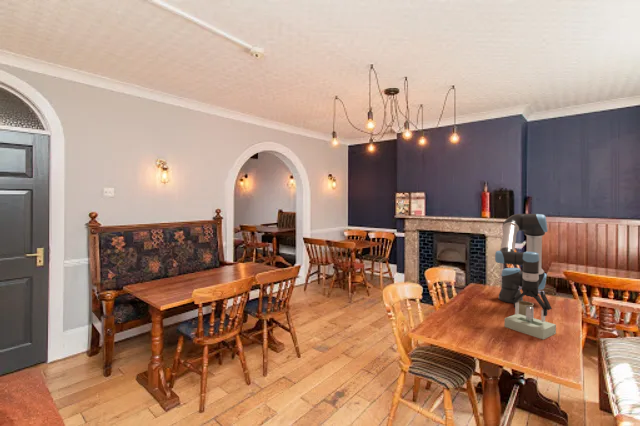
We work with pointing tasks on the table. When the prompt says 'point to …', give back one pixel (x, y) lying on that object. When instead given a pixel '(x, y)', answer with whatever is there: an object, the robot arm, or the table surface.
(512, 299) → the robot arm
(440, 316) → the table surface
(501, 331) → the table surface
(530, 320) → the pin
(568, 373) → the table surface
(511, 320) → the slot block
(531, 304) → the flower pot
